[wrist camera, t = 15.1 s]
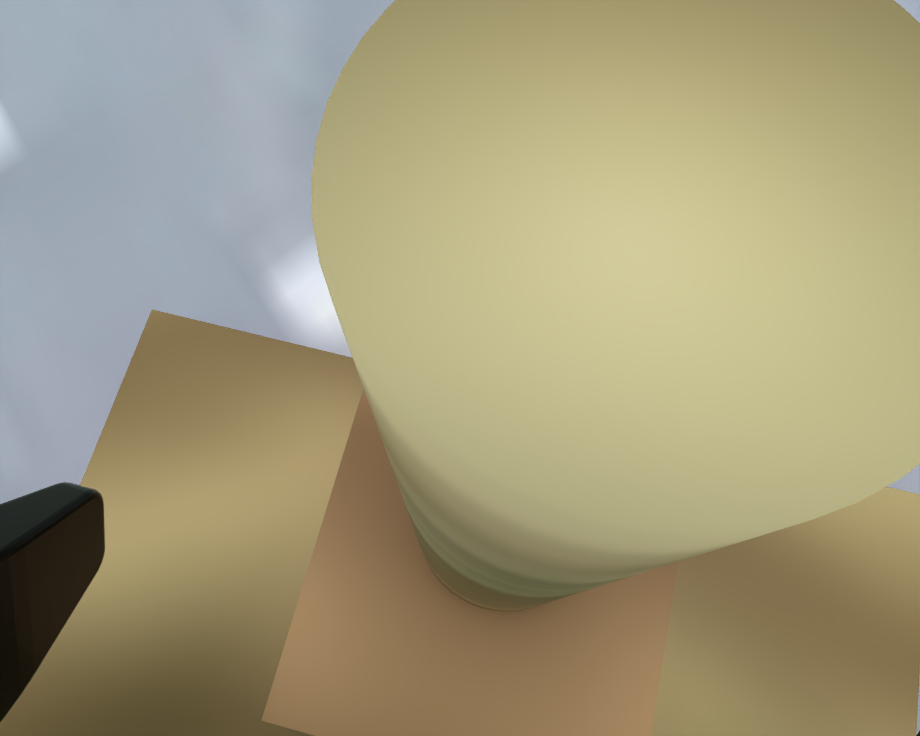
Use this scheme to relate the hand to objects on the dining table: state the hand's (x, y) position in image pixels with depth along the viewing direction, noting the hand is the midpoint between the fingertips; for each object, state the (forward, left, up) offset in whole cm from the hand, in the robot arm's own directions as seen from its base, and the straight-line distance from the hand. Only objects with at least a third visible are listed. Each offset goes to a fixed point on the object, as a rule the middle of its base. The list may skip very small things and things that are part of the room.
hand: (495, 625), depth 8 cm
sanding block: (+1, +1, -7) cm, 7 cm away
